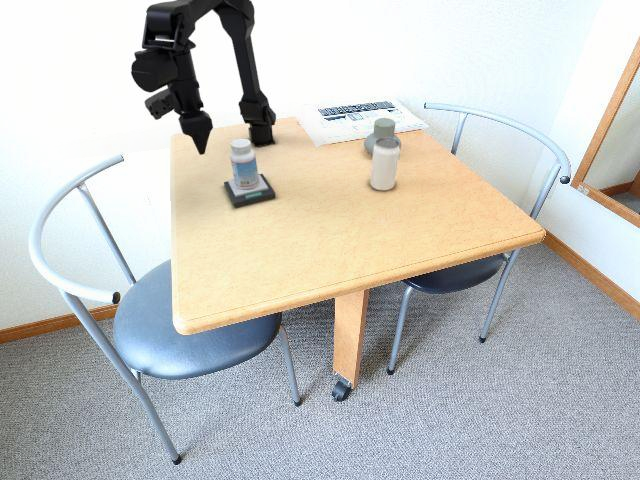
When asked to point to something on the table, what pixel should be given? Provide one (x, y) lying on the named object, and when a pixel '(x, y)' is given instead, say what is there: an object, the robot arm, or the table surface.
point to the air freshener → (381, 133)
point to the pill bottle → (244, 164)
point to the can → (384, 164)
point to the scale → (249, 192)
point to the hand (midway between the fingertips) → (198, 145)
